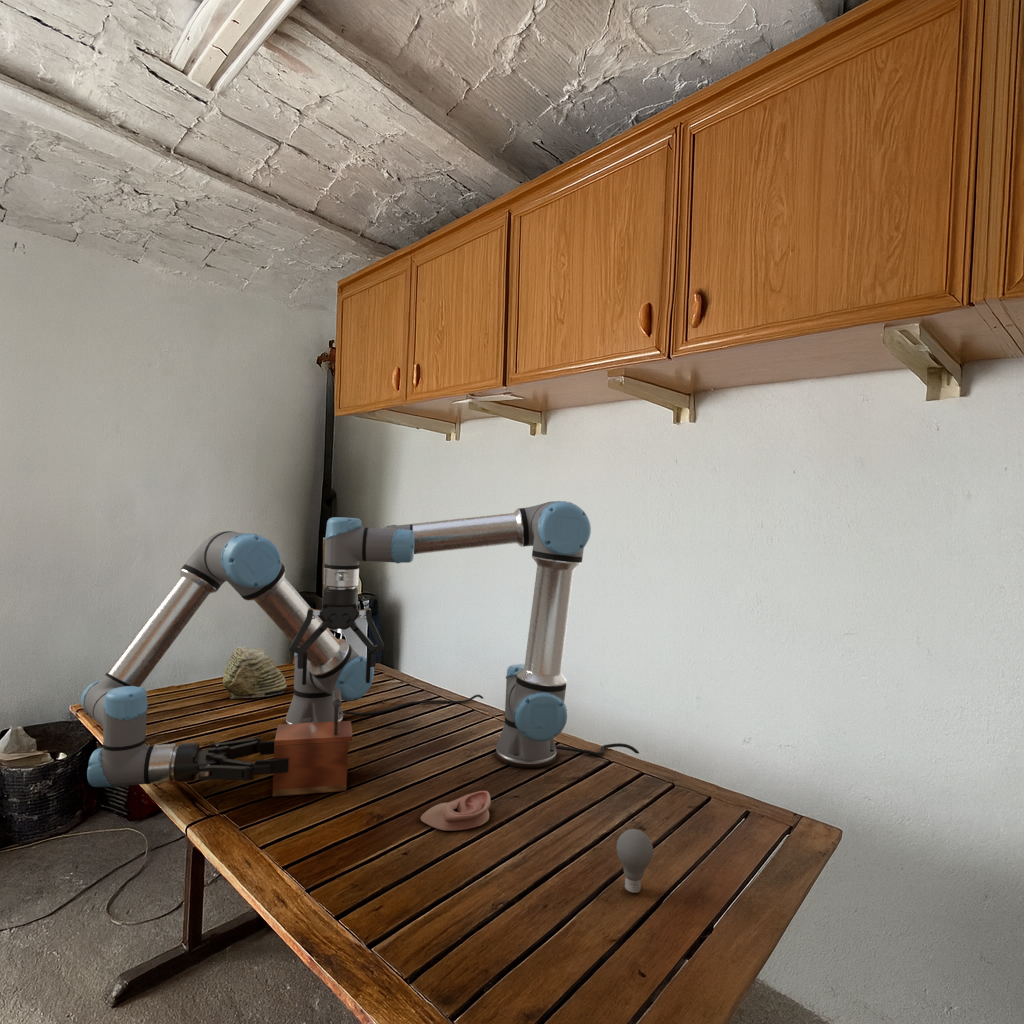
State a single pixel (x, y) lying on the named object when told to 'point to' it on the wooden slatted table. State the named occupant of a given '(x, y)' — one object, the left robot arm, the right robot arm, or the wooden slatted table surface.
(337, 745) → the chest
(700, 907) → the wooden slatted table surface
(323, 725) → the lid
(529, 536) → the right robot arm
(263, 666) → the fossil
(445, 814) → the anatomical model
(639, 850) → the light bulb
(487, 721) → the wooden slatted table surface
